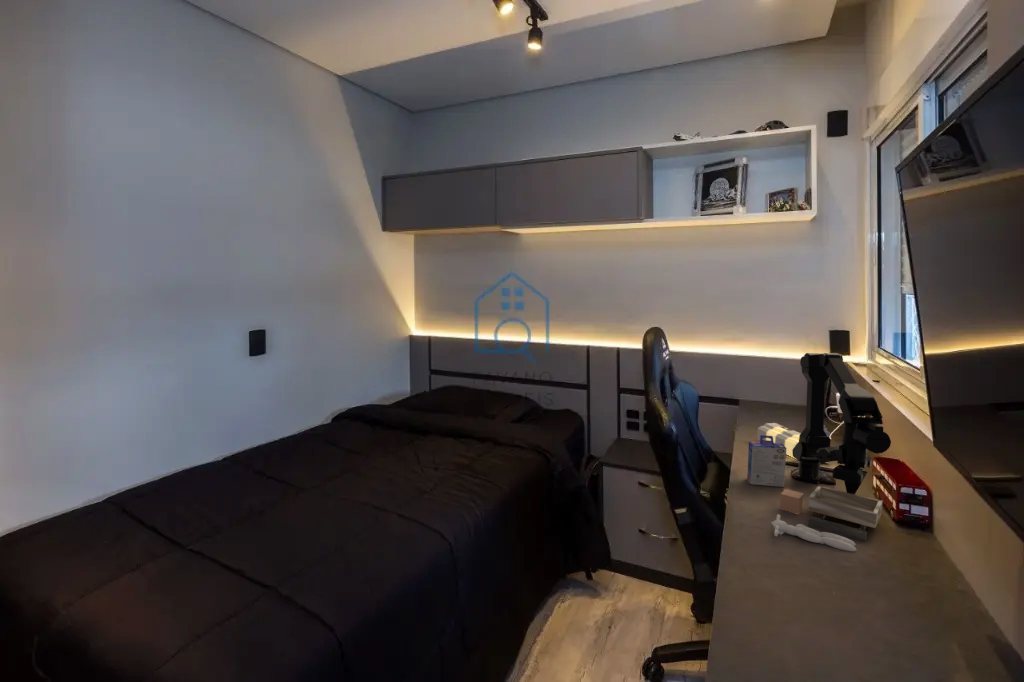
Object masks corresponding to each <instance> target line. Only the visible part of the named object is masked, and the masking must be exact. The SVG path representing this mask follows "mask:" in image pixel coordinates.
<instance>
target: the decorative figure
mask: <svg viewBox="0 0 1024 682" xmlns="http://www.w3.org/2000/svg"><path fill="white" fill-rule="evenodd" d="M770 524H771V525H772V527H773V528H774V536H775V537H778V536H783V535H784V533H786V534H788V535H790V536H797V537H799V538H800V539H803V540H805V541H807V542H811V543H815V544H816V543H817V544H821V545H824V544H825V545H827V546H830V547H833V548H835V549H839V550H841V551H846V552H856V551H857V548H856V545H857V544H856V543H855V542H854V541H853V540H851V539H849V537H848V538H847V537H846V536H843V535H840V534H836V533H833V532H829V531H822V532H821V531H819V530H816V529H814V528H813V527H812V528H811V527H810V526H809V527H808V526H806V525H805V524H801V523H798V524H796V525H792V524H788V523H787V522H786V521H784V520H781V514H776V519H775V520H773V521H771V522H770ZM778 534H780V535H778ZM782 534H783V535H782Z"/></svg>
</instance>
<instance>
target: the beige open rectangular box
mask: <svg viewBox="0 0 1024 682" xmlns="http://www.w3.org/2000/svg"><path fill="white" fill-rule="evenodd" d="M883 502H884V501H883V500H882V499H881V500H880V499H877V498H872V497H868V496H864V495H860V494H856V493H855V494H852V493H848V492H846V491H843V490H838V489H834V488H830V487H826V486H821V485H818V486H817V487H816V488H815V489H814V491H813V492H812V493H811V495H810V496H809V497H808V508H807V510H808V511H810V512H813V513H818V517H822V518H823V516H824V515H826V516H828V517H833V518H835V519H839V520H844V521H847V522H851V523H855V524H859V528H862V529H864V527H865V526H867V527H868V528H869V527H870V528H873V529H876V527H877V526H878V522H879V520H880V519H881V515H882V513H883V512H882V511H883V504H884V503H883Z"/></svg>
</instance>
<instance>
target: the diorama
mask: <svg viewBox="0 0 1024 682" xmlns="http://www.w3.org/2000/svg"><path fill="white" fill-rule="evenodd" d="M824 431H825V433H826V435H827V436H828V437H830V434H831V432H830V431H828V428H827V427H826V425H824ZM801 433H802V432H799V431H796V430H794V429H793V430H791V429H790V428H787V427H785V426H784V425H781V424H779V423H777V422H772V423H771V422H770V423H768V422H765V424H764V425H759V427H758V428H757V434H756V435H757V436H756V437H757V438H756V439H757V442H760V435H765V436H773V442H774V443H782V444H783V445H784V446H785V447H786V454H787V455H789V456H791V457H793V453H792V450H793V448H794V447H795V446H796V445H797V443H798V442H799V436H800V434H801ZM762 440H768V441H771V439H769V438H763V439H762ZM830 447H832V446H831V445H830ZM793 458H794V457H793Z"/></svg>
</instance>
